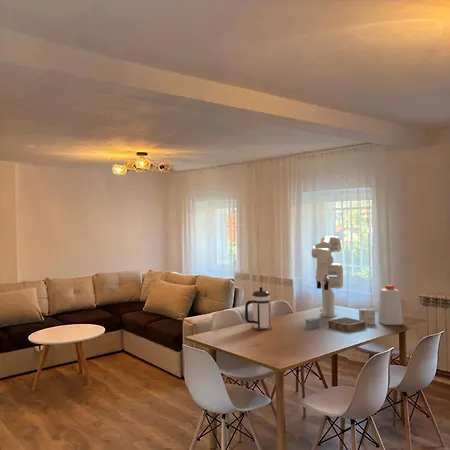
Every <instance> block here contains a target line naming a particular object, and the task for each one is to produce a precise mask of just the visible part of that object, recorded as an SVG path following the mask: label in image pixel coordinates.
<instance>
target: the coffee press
mask: <svg viewBox="0 0 450 450" xmlns="http://www.w3.org/2000/svg"><path fill="white" fill-rule="evenodd" d="M251 296H252V300H248V301H247V302H246V303H245V305H244V320H245V321H246V322H247V323H249V324H252V326H251V329H254V328H256V329H257V332H260V331H261V329H269V330H270V331H271V330H272V329H273V328H272V326H271V306H270V305H271V299H270V298H272V296H271V294H270V292H269V291H268V290H265V289H264V288H263V287H259V289H258V290H254V291H253V292H252V294H251ZM250 304H252V320H249V305H250Z"/></svg>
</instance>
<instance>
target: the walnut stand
mask: <svg viewBox="0 0 450 450" xmlns="http://www.w3.org/2000/svg"><path fill="white" fill-rule="evenodd" d="M328 329H333V330H336V331H337V330H338V331H341V332H346V333H351V332H355V331H360V330H361V331H362V330H365V329H366V323H365V321H361V320H359V319H357V318H356V319H355V318H350V317H347V316H345V317H340V318H334V319H331V320H328Z"/></svg>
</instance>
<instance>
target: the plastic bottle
mask: <svg viewBox="0 0 450 450" xmlns="http://www.w3.org/2000/svg"><path fill="white" fill-rule="evenodd" d="M378 306H379V307H378V323H380V324H381V325H384V326H402V325H403V323H404V322H403V321H404V320H403V312H402V311H403V309H402V301H401V291H400V290H399V289H396V288H395V285H394V284H386V285H385V286H384V288H381V289H379V305H378Z"/></svg>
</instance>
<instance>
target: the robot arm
mask: <svg viewBox="0 0 450 450" xmlns="http://www.w3.org/2000/svg"><path fill="white" fill-rule="evenodd" d="M341 250H342V244H341V239H340V238H339V236H338V235H337V236H334V235H329V236H328V235H326V236H323V237H322V238H321V239H320V242H319V243H316V244H315V245H313V246H312V249H311V257H312V258H313V259H316V269H315V281H316V289H321V304H322V305H321V307H322V308H320V309H319V312H320V316H321V317H324V318H326V317H327V318H333V317H334V318H335V317H337V313H335V293H334V291H333V289H335V290H336V289H342V288H343V285H344V268H343V265H342V264H341V263H335V262H334V261H335V260H334V256H333V255H332V253H340V252H341Z"/></svg>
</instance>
